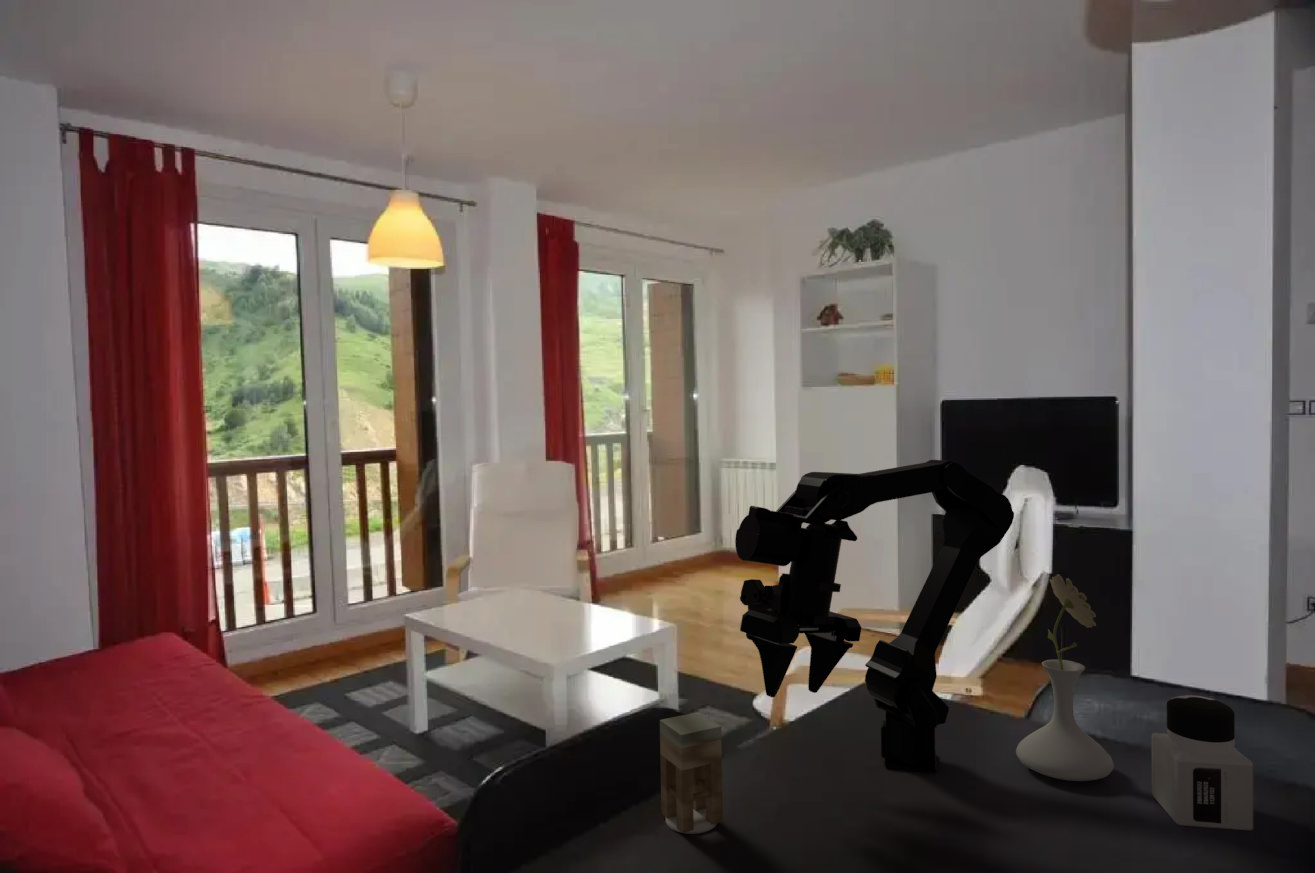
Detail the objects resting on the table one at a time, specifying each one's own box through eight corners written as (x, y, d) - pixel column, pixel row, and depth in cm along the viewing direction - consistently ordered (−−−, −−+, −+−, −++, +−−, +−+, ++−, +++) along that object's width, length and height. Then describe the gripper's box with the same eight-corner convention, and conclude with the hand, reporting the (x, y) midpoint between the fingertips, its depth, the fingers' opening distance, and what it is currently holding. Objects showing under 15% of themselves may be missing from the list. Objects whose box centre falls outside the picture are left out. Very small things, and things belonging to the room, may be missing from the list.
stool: (700, 802, 99) (698, 711, 99) (722, 821, 95) (721, 726, 94) (661, 813, 97) (659, 719, 97) (682, 832, 92) (681, 734, 92)
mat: (722, 812, 98) (722, 808, 98) (710, 836, 92) (710, 833, 92) (673, 805, 100) (673, 802, 100) (659, 829, 94) (659, 826, 94)
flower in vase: (1121, 796, 100) (1120, 590, 100) (1018, 783, 104) (1017, 584, 103) (1104, 754, 112) (1103, 570, 112) (1012, 744, 116) (1011, 566, 116)
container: (1254, 832, 91) (1254, 714, 91) (1176, 826, 93) (1176, 711, 92) (1221, 799, 99) (1221, 691, 98) (1150, 794, 100) (1150, 688, 100)
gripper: (801, 562, 117) (783, 672, 116) (717, 554, 104) (696, 678, 103) (871, 578, 109) (852, 696, 109) (790, 572, 96) (767, 707, 95)
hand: (792, 693), depth 104 cm, fingers open, 9 cm apart
